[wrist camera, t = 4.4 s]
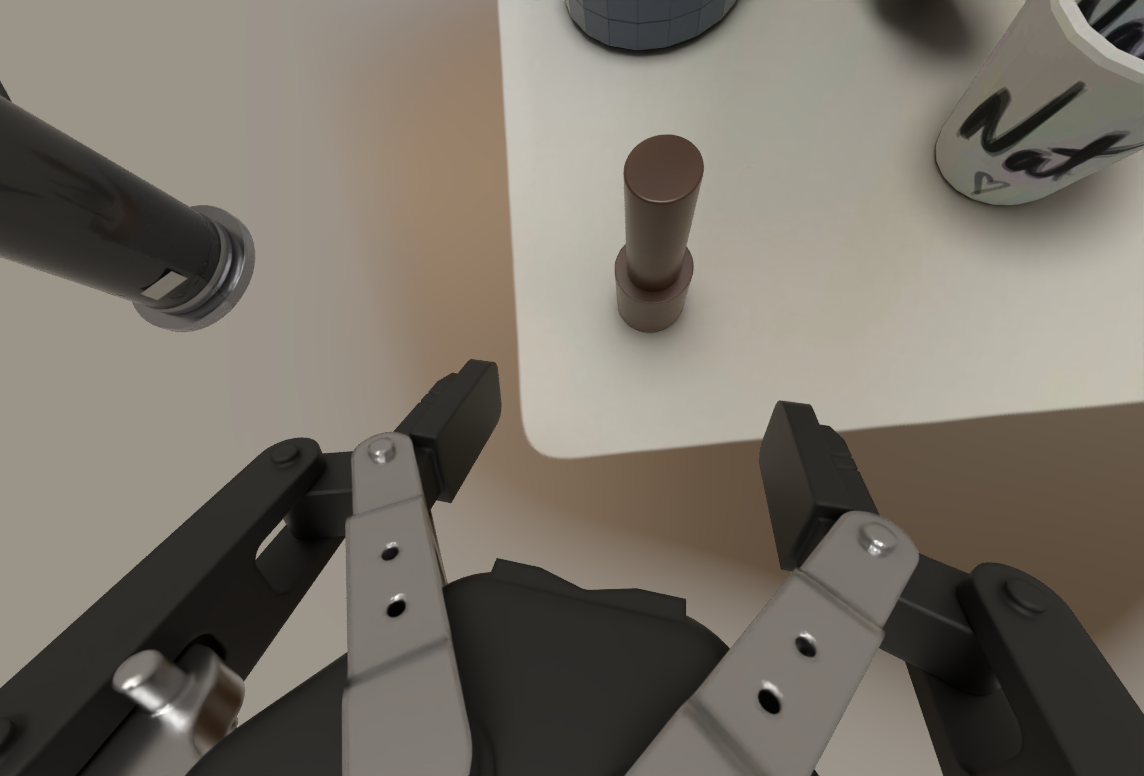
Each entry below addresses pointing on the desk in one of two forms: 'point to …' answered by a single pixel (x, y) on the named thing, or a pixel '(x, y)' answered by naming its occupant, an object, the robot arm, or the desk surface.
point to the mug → (1049, 102)
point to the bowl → (646, 20)
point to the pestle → (657, 231)
